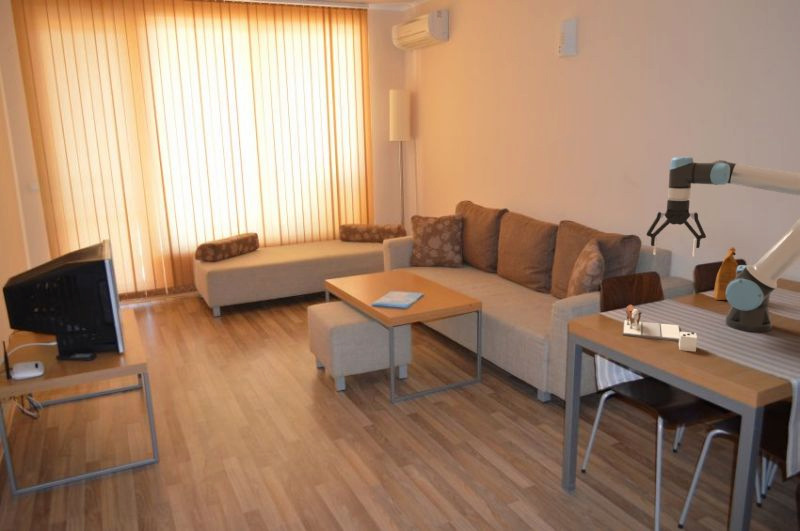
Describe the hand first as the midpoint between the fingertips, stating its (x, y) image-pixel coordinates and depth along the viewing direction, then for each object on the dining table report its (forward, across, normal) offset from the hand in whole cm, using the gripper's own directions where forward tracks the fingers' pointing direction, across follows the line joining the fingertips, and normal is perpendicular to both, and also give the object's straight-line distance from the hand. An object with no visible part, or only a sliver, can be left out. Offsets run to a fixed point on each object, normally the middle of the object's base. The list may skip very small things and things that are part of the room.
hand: (674, 255), depth 229 cm
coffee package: (+27, -25, -43) cm, 57 cm away
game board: (+26, +7, +13) cm, 30 cm away
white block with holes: (+27, -4, +28) cm, 39 cm away
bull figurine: (+26, +13, +13) cm, 32 cm away
